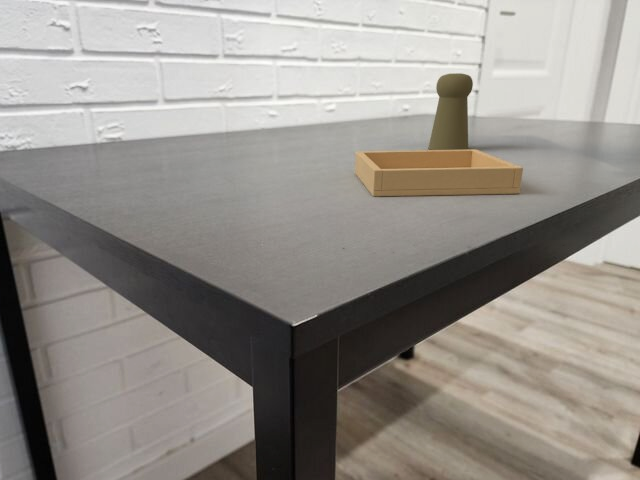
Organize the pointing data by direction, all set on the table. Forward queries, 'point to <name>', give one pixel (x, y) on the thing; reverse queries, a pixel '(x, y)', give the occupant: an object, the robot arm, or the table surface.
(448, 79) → the olive pawn
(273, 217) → the table surface
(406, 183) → the tray
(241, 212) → the table surface
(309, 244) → the table surface
